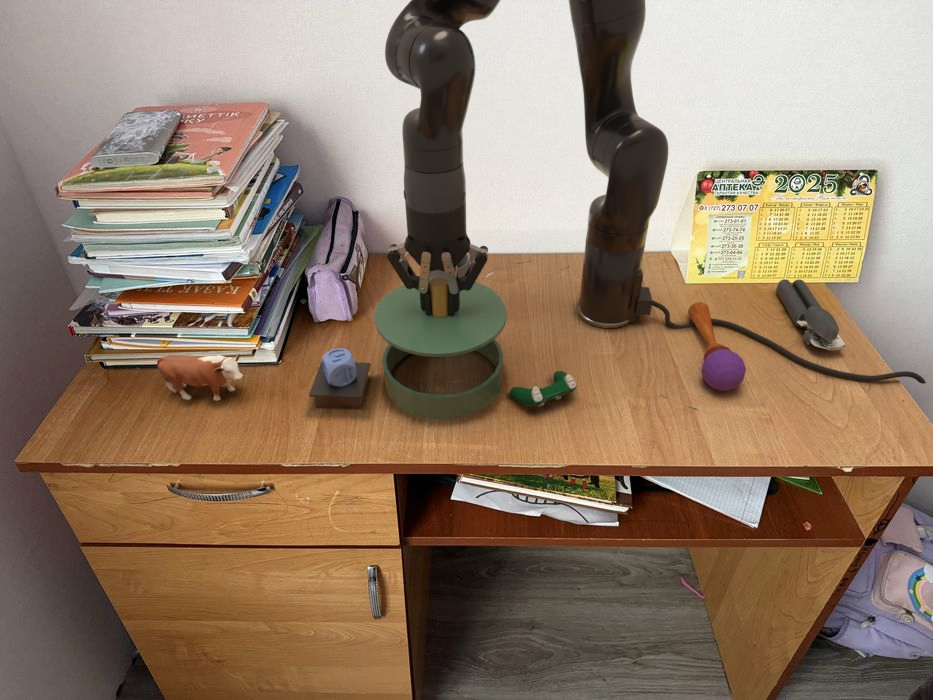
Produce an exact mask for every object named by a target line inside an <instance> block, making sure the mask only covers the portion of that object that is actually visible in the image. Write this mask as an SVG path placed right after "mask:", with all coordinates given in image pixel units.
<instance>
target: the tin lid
mask: <svg viewBox="0 0 933 700" xmlns="http://www.w3.org/2000/svg"><path fill="white" fill-rule="evenodd" d="M429 283H430V297H431V315H426V311H422V309H421V304H420V292H419V291H418V290H417V289H414V288H413V289H407V288H406V287H405V285H404V284H402V285H400V286H398V287H396V288H394V289H393V290H391V291H389V292H388V293H386V295H384V296H383V298H381V299H380V300H379V302H378V304H377V306H376V308H375V310H374V316H373V318H374V319H373V320H374V326H375V329H376V331H377V333H378V335H379V336H380V337H381V339H383V340H384V341H385V342H386V343H387V344H388V345H389V344H390V345H392V346H393V347H395V348H397V349H399V350H402V351H405V352H407V353H411V354H412V355H416V356H421V357H431V358H441V357H442V358H445V357H455V356H460V355H464V354H467V353H471V352H475V350H477V349H479V348H481V347H483V346H485V345H487V344H488V343H490V342H491V341H493V340H494V339H495V340H496V338H497V337H498V336H499V335H500V334H501V333H502V332H503V330H504V328H505V326H506V323H507V318H508V312H507V307H506V304H505V302H504V299H502V298H501V296H500V295H499V294H498V293H497V292H495V291H494V290H493V289H491V288H490V287H488V286H487V285H484V284H482V283H480V282H478V281H475V283H474V285H473V286H472V288H471V289H470V290H468V291H466V290H462V291H460V306H459V310H458V312H455V313H454V316H453V315H449V301H448V293H449V286H448V281H447V280H446V277H434V278H430V280H429Z"/></svg>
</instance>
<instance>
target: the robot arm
mask: <svg viewBox="0 0 933 700" xmlns="http://www.w3.org/2000/svg"><path fill="white" fill-rule="evenodd" d="M499 3H501V0H410V1H409V2H408V3H407V4H406V5H405V6H404V8H403V9H402V10H401V11H400V13H399V14H398V15H397V17H396V18H395V20H394V21H393V22H392V25H391V27H390V29H389V32H388V33H387V37H386V40H385V41H386V42H385V46H384V57H385V63H386V66H387V69H388V70H389V72H390V73H391V74H392V76H394V78H395V79H397V80H398V81H400V82H402V83H404V84H406V85H408V86H411V87H414V88H415V89H419V90H420V102H419V107H417V108H413V109H411V110H410V111H409V112H408V113H407V114H406V115H405V117H404V118H403V120H402V126H401V127H402V131H401V132H402V147H403V161H404V171H403V173H404V174H403V198H404V205H405V216H406V218H405V220H406V231H407V236H406V237H405V240H404V242H402V243H400V244H396V243H392V244H390V246H389V248H388V251H387V255H386V259H387V260H388V262H389V264H390V265H391V266H392V268H393V269H394V271H395V273H396V274H397V276H398V277H399V280H400V281H401V282H402V285H405V287H406V288H407V289H413V288H414V289H417V290H418V291H419V292H420V304H421V309H422V311H426V315H431V297H430V283H429V280H430V271H436V270H439V271H443V272H445V275H446V280H447V281H448V286H449V293H448V301H449V315H453V316H454V313H455V312H458V310H459V306H460V291H462V290H466V291H468V290H470V289H471V288H472V286H473V285H474V283H475V282H477V279H478V277H479V276H480V274H481V272H482V270H483V269H484V267H485V266H486V263H487V262H488V257H489V247H487V245H480V247H479V246H477V245H475V244H473V243H471V239H470V238H469V236H468V233H467V186H466V185H467V182H466V172H465V167H464V134H463V128H464V124H465V120H466V117H467V113H468V108H469V105H470V101H471V96H472V91H473V88H474V83H475V77H476V71H477V70H476V56H475V52H474V51H475V50H474V48H473V44H472V43H471V40H470V38H469V36H468V35H467V34H466V33H465V31H463V30H461V28H462V27H463V26H464V25H466V24H468V23H470V22H475V21H482V20H486V19H487V18H488V17H490V16H491V15H493V13H494V12H495V10H496V9H497V7H498V5H499ZM568 6H569V12H570V19H571V24H572V29H573V35H574V41H575V47H576V52H577V60H578V66H579V72H580V78H581V86H582V91H583V92H582V94H583V106H584V107H583V108H584V109H583V110H584V111H583V112H584V114H583V115H584V136H585V147H586V152H587V156H588V158H589V160H590V162H591V164H592V165H593V166H594V167H595V168H596V169H597V170H598V171H599V172H600V173H602V174H603V175H604V176H606V177H607V178H608V179H607V186H606V191H605V194H602V195H599V196H597V197H595V198H594V199H593V200H592V201H591V203H590V205H589V209H588V217H587V226H586V236H585V244H584V255H583V265H582V272H581V273H582V274H581V283H580V291H579V299H578V304H577V305H578V306H577V313H578V315H579V317H580V318H581V319H582V320H583V322H586V323H587V324H589V325H592V326H594V327H597V328H602V329H603V328H605V329H616V328H621V327H624V326H626V325H628V324H635V323H636V320H637V316H650V315H651V312H652V307H653V308H654V307H655V308H657V309H659V310H660V311H662V313H663V314H664V323H665V325H666V326H667V327H669V328H670V329H673V330H681V329H682V330H683V329H689V328H696V325H695V324H694V322H693V321H692V322H691V323H686V324H677V323H674V322H672V321H671V314H670V311H669V310H668V307H666V306H665V305H663V304H662V303H660V302H658V301H655V300H653V297H652V293H651V290H650V287H649V286H643V280H644V272H643V268H642V267H643V259H644V255H645V254H644V253H645V247H646V242H647V236H648V230H649V225H650V220H651V217H652V215H653V214H654V212H655V210H656V209H657V207H658V204H659V200H660V196H661V192H662V188H663V184H664V179H665V175H666V171H667V166H668V160H669V141H668V138H667V136H666V134H665V133H664V131H663V130H662V129H661V128H660V127H657V126H656V125H655V124H654V123H651V122H649V121H648V120H646V119H644V118H643V117H641V116H639V114H638V112H637V109H636V105H635V98H634V92H633V84H632V66H633V61H634V58H635V55H636V52H637V50H638V47H639V44H640V41H641V38H642V35H643V32H644V28H645V23H646V12H647V11H646V10H647V9H646V0H568ZM408 254H409V255H410V257H411V258H412V259H413V260H414V261H415V262H416V263H417V265H418V266H419V267H420V269H419V275H417V274H416V272H415V271H414V269H413V268H412V266H411V265H410V263H409V261H408V259H407V257H408ZM466 254H467V255H468V254H469V260H470V266H469V268H468V270H467V271H466V273H465V275H464V276H463V277H460V278H459V275H458V266H457V265H458V264H459V262H460V261H461V260H462V259H463V258H464V256H465V255H466ZM711 322H712V325H720V326H723V327H727V328H730V329H733V330H736V331H739V332H740V333H743V334H745V335H747V336H749V337H750V338H753V339H754V340H757V341H759V342H761V343H764V344H766V345H767V346H769V347H771V348H773V349H774V350H776V351H778V352H779V353H781V354H782V355H784V356H786V357H787V358H789V359H791V360H793V361H794V362H797V363H798V364H801V365H802V366H805V367H807V368H809V369H813V370H815V371H817V372H822V373H825V374H827V375H831V376H835V377H839V378H845V379H849V380H850V379H851V380H856V381H865V382H876V381H885V380H890V379H897V378H912V379H914V380H916V381H917V382H918V383H920V384H925V385H926V383H927V381H926V380H925V379H924V378H923V376H922V375H920V374H918V373H916V372H913V371H908V370H906V371H905V370H903V371H895V372H890V373H884V374H877V375H876V374H875V375H867V374H866V375H865V374H858V373H851V372H845V371H841V370H837V369H832V368H829V367H825V366H823V365H821V364H820V365H819V364H817V363H814V362H811V361H808V360H807V359H804V358H802V357H800V356H798V355H796V354H794V353H793V352H791V351H789V350H787V349H786V348H784V347H782V346H781V345H779V344H778V343H776V342H774V341H772V340H770V339H768V338H767V337H764V336H762V335H760V334H758V333H757V332H755V331H752V330H750V329H748V328H746V327H743V326H742V325H739V324H737V323H734V322H730V321H727V320H723V319H718V318H711Z"/></svg>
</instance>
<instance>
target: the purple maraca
mask: <svg viewBox="0 0 933 700" xmlns="http://www.w3.org/2000/svg"><path fill="white" fill-rule="evenodd" d="M687 313H688V317H689V318H690V319H691V321H692V323H693V322H694V324H695V325H696V326H695V328H696V329H697V330H698V332H699V333H700V334H701V336H702V338H703V339H704V341H705V342H706V343H707V345H708V346H707V348H706V350H705V353H704V354H703V361H702V366H701V373H702V377H703V380H704V382H705V383H706V384H707V385H708V386H709V387H711V388H712V389H715V390H717V391H720V392H721V391H722V392H723V391H724V392H727V391H731V390H734V389H736V388H737V387H739V386H740V385H741V384H742V383H743V381H744V380H745V376H746V371H747V368H746V364H745V362H744V360H743V358H742V357H741V356H740V355H739V353H736V352H734V351H733V350H731V349H730V347H727V346H725V345H723V344H720V343H718V342H717V341H716V336H715V332H714V327H713V324H712V322H711V319H712V317H711V314H710V313H711V312H710V309H709V306H708V304H706V303H705V302H702V301H697V302H694V303H693V304H691V305H690V306H689V308H688V310H687Z"/></svg>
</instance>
